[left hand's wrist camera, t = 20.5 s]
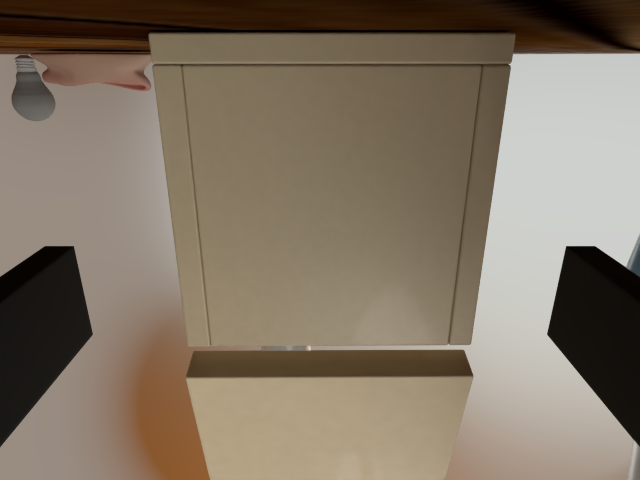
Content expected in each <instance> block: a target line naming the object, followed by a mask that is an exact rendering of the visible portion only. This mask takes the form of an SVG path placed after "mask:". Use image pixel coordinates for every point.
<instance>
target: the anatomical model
mask: <svg viewBox="0 0 640 480" xmlns="http://www.w3.org/2000/svg"><path fill="white" fill-rule="evenodd" d="M31 56H32V57H33V58H34V59H36V60H37V61H39V62H41V63H43V64H45V65H46V66H47V67H48V69H47V70H46V71H44V72H43V74H42V78H43V80H44V81H45V82H48V83H55V84H60V85H64V86H77V85H83V84H89V83H102V84H108V85H113V86H118V87H123V88H127V89H132V90H138V91H148V90H150V89H151V84H150V81H149V80H148V78H147V77H146V76H145V75H144V69H145V68H146V66H147V65H148V64H149V63H150V62H151V61H152V59H151V54H150V53H32V54H31Z"/></svg>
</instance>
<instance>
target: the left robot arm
mask: <svg viewBox="0 0 640 480" xmlns="http://www.w3.org/2000/svg"><path fill="white" fill-rule="evenodd" d="M92 335H93V333H92V329H91V324H90V319H89V315H88V310H87V305H86V301H85V296H84V292H83V287H82V282H81V278H80V273H79V268H78V264H77V259H76V255H75V250H74V246H45V247H43V248H42V249H40V250H39V251H37V252H36V253H34V254H33V255H32V256H30V257H29V258H27V259H26V260H24V261H23V262H21V263H20V264H18V265H17V266H15V267H14V268H13V269H11V270H10V271H8V272H7V273H5V274H4V275H2V276H1V277H0V447H1V445H2V444H3V443H4V442H5V441H6V439H7V438H8V437H9V436H10V435H11V433H12V432H13V431H14V430H15V428H16V427H17V426H18V425H19V424H20V422H21V421H22V420H23V419H24V418H25V416H26V415H27V414H28V413H29V411H30V410H31V409H32V408H33V407H34V405H35V404H36V403H37V402H38V400H39V399H40V398H41V397H42V396H43V394H44V393H45V392H46V391H47V389H48V388H49V387H50V386H51V385H52V383H53V382H54V381H55V380H56V379H57V377H58V376H59V375H60V374H61V372H62V371H63V370H64V369H65V368H66V366H67V365H68V364H69V363H70V362H71V360H72V359H73V358H74V357H75V355H76V354H77V353H78V352H79V351H80V349H81V348H82V347H83V346H84V345H85V343H86V342H87V341H88V340H89V338H90V337H91V336H92ZM547 335H548V336H549V337H550V338H551V340H552V341H553V342H554V343H555V345H556V346H557V347H558V348H559V349H560V351H561V352H562V353H563V354H564V355H565V357H566V358H567V359H568V360H569V362H570V363H571V364H572V365H573V366H574V368H575V369H576V370H577V371H578V373H579V374H580V375H581V376H582V377H583V379H584V380H585V381H586V382H587V383H588V385H589V386H590V387H591V388H592V390H593V391H594V392H595V393H596V394H597V396H598V397H599V398H600V399H601V400H602V402H603V403H604V404H605V405H606V407H607V408H608V409H609V410H610V411H611V413H612V414H613V415H614V416H615V417H616V419H617V420H618V421H619V422H620V424H621V425H622V426H623V427H624V428H625V430H626V431H627V432H628V433H629V435H630V436H631V437H632V438H633V446H632V452H631V458H630V464H629V471H628V477H627V480H640V235H639V237H638V239H637V242H636V244H635V247H634V249H633V252H632V254H631V256H630V259H629V261H628V264H627V266H626V267H625V266H623V265H622V264H620V263H619V262H617V261H616V260H614V259H613V258H611V257H610V256H608V255H607V254H605V253H604V252H603V251H601V250H600V249H598V248H597V247H595V246H566V250H565V255H564V259H563V264H562V269H561V273H560V278H559V282H558V287H557V292H556V296H555V301H554V305H553V310H552V315H551V319H550V324H549V329H548V333H547Z"/></svg>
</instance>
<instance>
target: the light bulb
mask: <svg viewBox="0 0 640 480" xmlns="http://www.w3.org/2000/svg"><path fill="white" fill-rule="evenodd" d="M15 60H16V62H17V64H16V65H17V66H18V67H17V74H16V80H17V82H16V85H15V88H14V91H13V93H12V104H13V107H14V108H15V110H16V111H17V112H18V113H19V114H20V115H21V116H23V117H24V118H26V119H28V120H32V121H42V120H45V119H47V118H49V117H50V116H51V115H52V113H53V111H54V109H55V100H54V97H53V95H52V93H51V92H50V91H49V89H48V88H47V87H46V86H45V85H44V83H43V82H42V80H41V77H40V75H39V73H38V72H37V70H36V68H35V65H34V62H33V61H34V58H32V57H29V56H28V55H19V56H18V57H16V58H15Z"/></svg>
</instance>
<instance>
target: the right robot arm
mask: <svg viewBox="0 0 640 480" xmlns="http://www.w3.org/2000/svg"><path fill="white" fill-rule="evenodd" d="M305 350H311V348H310V346H261V351H305Z"/></svg>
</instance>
